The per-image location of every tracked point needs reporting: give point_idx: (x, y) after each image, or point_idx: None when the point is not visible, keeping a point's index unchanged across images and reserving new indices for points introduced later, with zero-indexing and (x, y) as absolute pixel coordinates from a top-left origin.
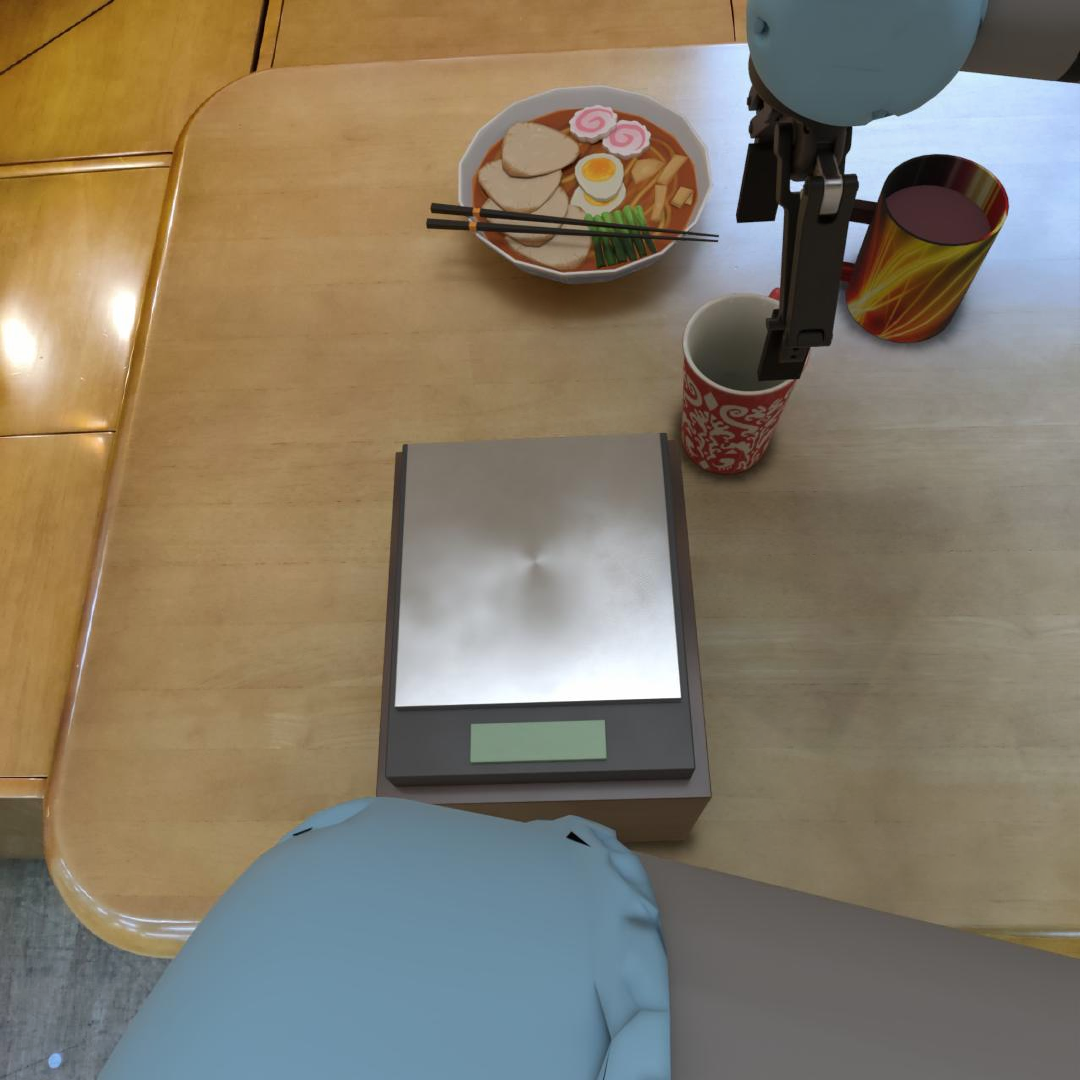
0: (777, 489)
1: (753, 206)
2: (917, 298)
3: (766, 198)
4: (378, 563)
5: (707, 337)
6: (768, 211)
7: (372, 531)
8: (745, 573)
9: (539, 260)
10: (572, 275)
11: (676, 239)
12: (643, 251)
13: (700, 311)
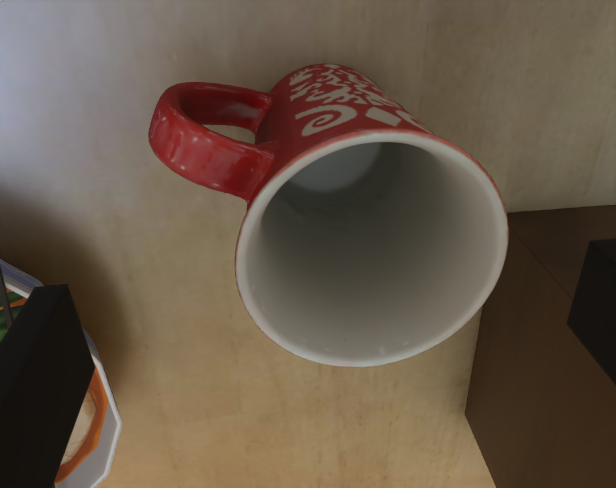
0: (421, 50)
1: (68, 386)
2: None
3: (46, 382)
4: (454, 455)
5: (283, 274)
6: (61, 331)
7: (419, 464)
8: (547, 107)
9: (84, 432)
10: (117, 409)
11: (4, 286)
12: None
13: (288, 343)
